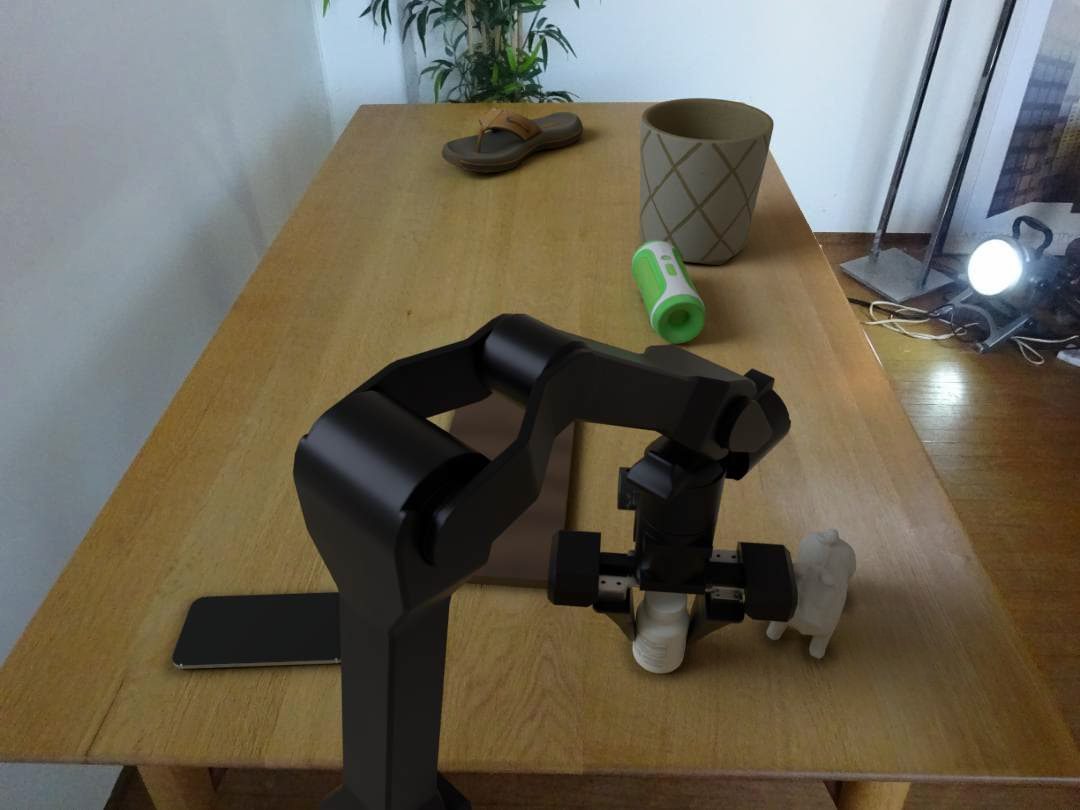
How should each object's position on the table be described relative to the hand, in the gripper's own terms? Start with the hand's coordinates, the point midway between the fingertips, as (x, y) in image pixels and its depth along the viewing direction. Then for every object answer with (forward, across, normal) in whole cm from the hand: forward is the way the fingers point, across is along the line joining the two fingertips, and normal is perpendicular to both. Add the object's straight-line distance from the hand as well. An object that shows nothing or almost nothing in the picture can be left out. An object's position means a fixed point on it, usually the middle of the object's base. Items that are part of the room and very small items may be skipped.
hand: (660, 638), depth 68 cm
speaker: (+2, -2, -56) cm, 56 cm away
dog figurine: (+2, -13, -4) cm, 14 cm away
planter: (+2, -7, -78) cm, 78 cm away
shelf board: (+2, +16, -26) cm, 31 cm away
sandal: (+2, +26, -114) cm, 117 cm away
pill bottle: (+2, 0, 0) cm, 2 cm away
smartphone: (+2, +34, +1) cm, 34 cm away
